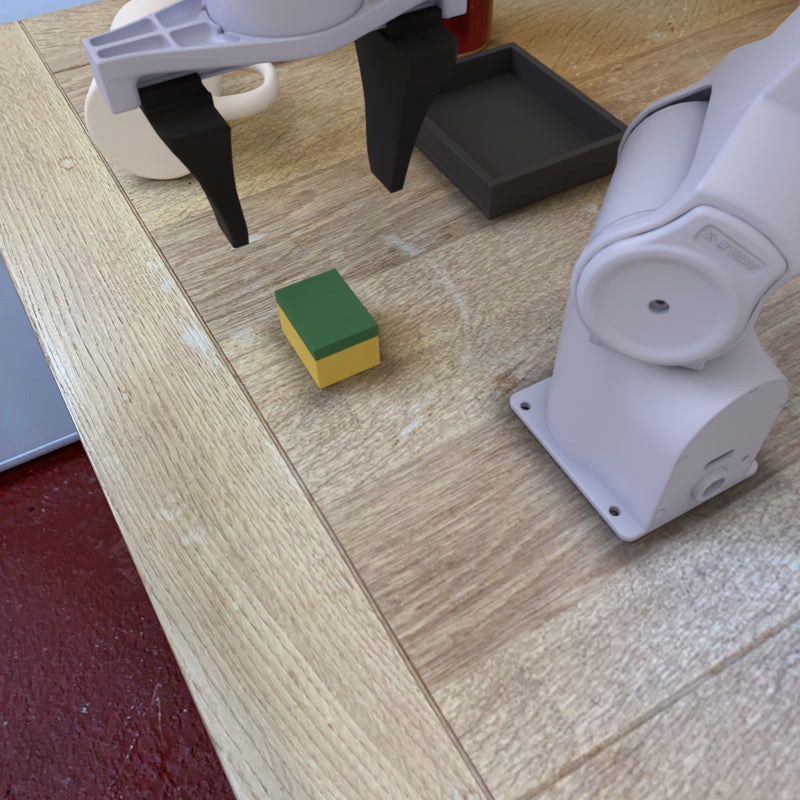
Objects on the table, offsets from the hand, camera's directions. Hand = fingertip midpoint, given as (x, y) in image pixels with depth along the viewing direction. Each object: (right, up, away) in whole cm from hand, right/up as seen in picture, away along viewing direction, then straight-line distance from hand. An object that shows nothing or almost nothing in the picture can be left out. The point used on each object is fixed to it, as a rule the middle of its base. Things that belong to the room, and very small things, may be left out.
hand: (312, 206), depth 36 cm
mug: (-10, +10, +21) cm, 25 cm away
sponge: (0, -6, +7) cm, 9 cm away
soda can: (+8, +20, +29) cm, 36 cm away
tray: (+11, +10, +20) cm, 24 cm away
